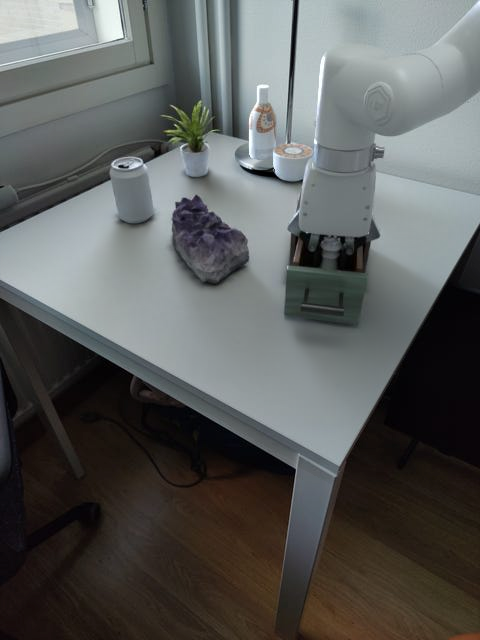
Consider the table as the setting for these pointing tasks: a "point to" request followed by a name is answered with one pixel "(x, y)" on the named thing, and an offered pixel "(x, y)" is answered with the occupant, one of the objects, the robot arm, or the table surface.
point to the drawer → (324, 287)
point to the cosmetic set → (263, 141)
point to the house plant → (193, 142)
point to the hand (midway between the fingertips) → (328, 269)
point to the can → (131, 189)
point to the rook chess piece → (330, 253)
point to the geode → (207, 241)
